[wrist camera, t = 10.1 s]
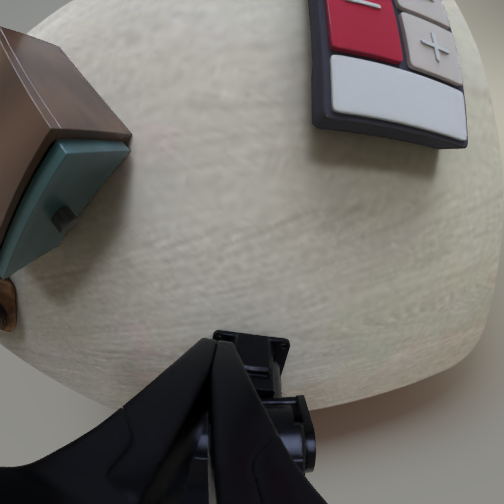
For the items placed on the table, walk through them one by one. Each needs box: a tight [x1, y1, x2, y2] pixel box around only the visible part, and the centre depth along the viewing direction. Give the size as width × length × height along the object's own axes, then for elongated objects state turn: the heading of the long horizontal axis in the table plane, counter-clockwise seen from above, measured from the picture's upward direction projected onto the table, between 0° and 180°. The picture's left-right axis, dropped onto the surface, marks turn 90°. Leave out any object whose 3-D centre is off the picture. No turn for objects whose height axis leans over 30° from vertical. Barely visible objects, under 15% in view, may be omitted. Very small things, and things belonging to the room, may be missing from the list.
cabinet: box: [0, 27, 132, 251], centre depth 13 cm, size 14×12×9 cm
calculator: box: [308, 0, 468, 149], centre depth 12 cm, size 11×4×15 cm
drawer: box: [0, 139, 130, 280], centre depth 13 cm, size 14×11×7 cm
